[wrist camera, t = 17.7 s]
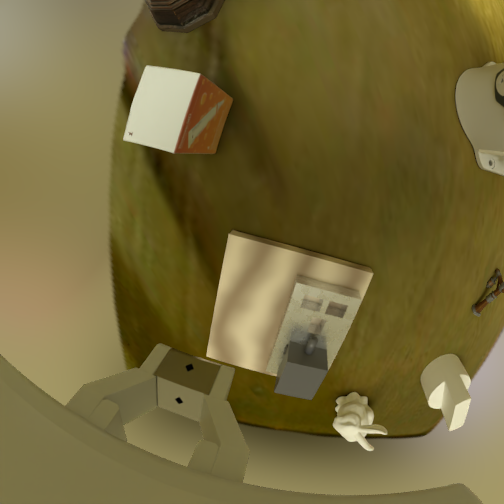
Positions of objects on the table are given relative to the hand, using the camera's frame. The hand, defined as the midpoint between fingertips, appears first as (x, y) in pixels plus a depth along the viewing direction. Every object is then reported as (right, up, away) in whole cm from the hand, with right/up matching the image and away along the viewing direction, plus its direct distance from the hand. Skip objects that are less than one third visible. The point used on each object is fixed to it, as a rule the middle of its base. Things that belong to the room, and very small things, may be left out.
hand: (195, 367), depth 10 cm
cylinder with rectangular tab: (+38, -19, +31) cm, 53 cm away
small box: (-4, +22, +25) cm, 33 cm away
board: (+7, -5, +32) cm, 33 cm away
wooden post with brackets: (+41, -2, +25) cm, 48 cm away
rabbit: (+22, -25, +36) cm, 49 cm away
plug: (+10, -10, +30) cm, 33 cm away
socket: (+11, -7, +30) cm, 32 cm away
